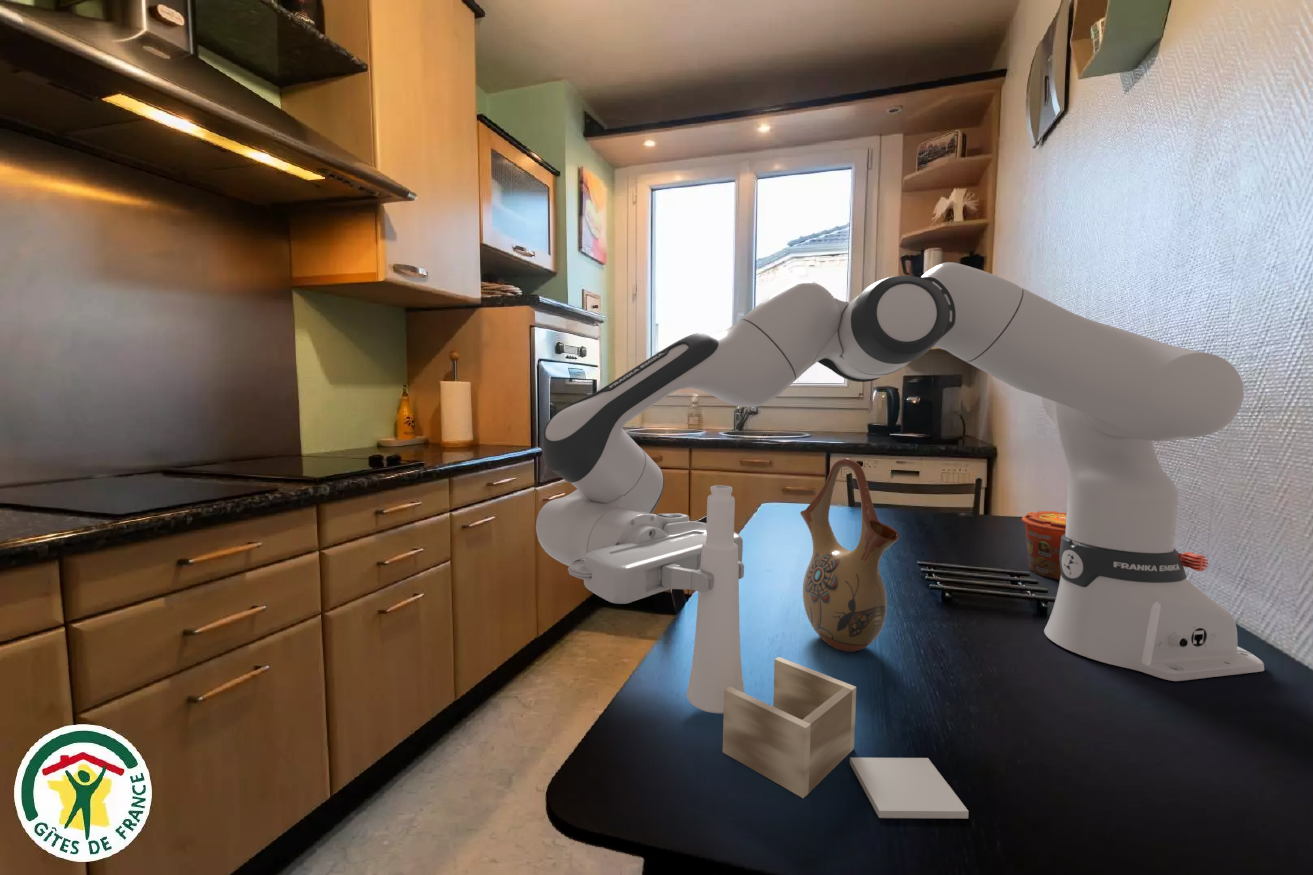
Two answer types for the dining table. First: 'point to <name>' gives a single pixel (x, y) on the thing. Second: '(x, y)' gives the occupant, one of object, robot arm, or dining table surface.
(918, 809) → the stone coaster
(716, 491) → the cosmetic bottle
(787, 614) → the dining table surface
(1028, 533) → the food container
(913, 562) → the dining table surface
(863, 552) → the ceramic vessel
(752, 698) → the beech cradle
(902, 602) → the dining table surface
